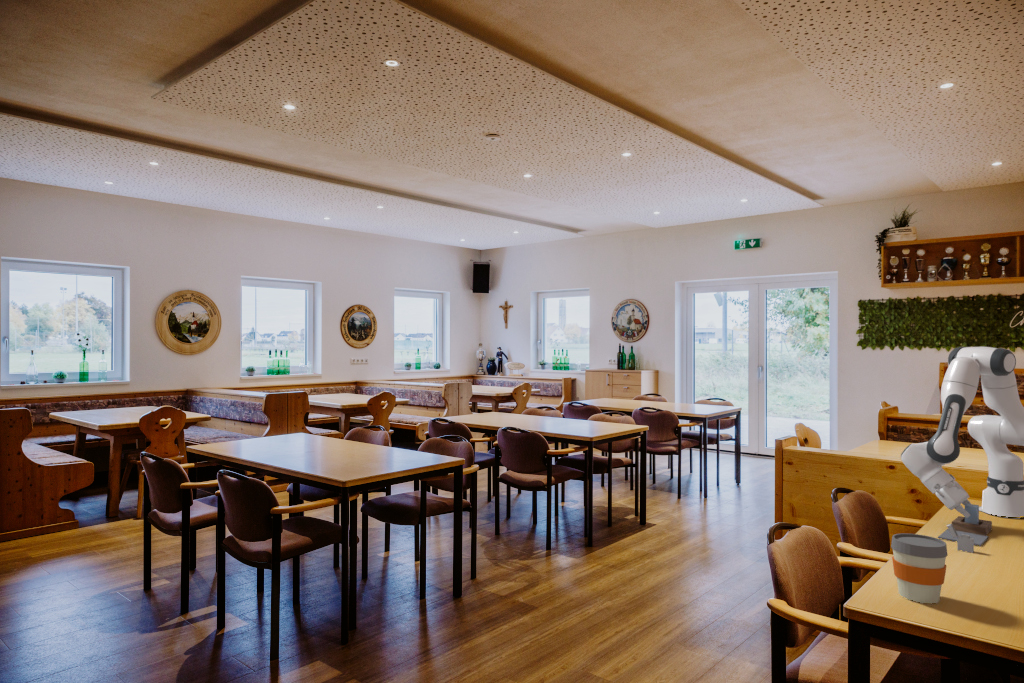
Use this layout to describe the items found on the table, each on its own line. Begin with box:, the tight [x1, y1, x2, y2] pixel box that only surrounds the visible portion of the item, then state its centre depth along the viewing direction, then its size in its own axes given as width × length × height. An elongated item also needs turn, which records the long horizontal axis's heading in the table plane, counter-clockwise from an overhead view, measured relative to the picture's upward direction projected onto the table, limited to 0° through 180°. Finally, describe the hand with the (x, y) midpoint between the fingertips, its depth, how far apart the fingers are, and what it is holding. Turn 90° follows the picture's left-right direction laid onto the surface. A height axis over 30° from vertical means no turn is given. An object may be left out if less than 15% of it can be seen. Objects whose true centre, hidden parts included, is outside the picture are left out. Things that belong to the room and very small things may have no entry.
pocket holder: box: [951, 515, 993, 536], centre depth 231 cm, size 12×10×3 cm
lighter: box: [946, 523, 975, 554], centre depth 207 cm, size 7×2×8 cm, turn 45°
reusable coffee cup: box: [890, 533, 948, 605], centre depth 167 cm, size 12×13×15 cm
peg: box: [964, 503, 980, 525], centre depth 231 cm, size 4×4×9 cm
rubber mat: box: [937, 528, 989, 547], centre depth 220 cm, size 14×12×1 cm
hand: (971, 514), depth 231 cm, fingers open, 8 cm apart
